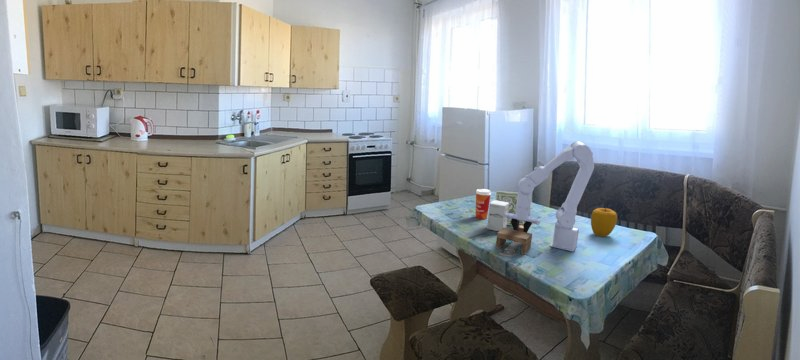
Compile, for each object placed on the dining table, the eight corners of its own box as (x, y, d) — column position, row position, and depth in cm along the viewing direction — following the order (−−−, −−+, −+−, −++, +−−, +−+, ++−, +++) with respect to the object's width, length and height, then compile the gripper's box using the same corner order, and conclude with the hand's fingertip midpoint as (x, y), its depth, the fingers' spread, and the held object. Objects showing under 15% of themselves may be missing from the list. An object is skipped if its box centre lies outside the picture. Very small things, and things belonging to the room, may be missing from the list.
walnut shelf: (530, 248, 186) (532, 233, 185) (524, 254, 179) (526, 239, 178) (502, 241, 192) (503, 227, 191) (495, 247, 185) (497, 232, 184)
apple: (617, 240, 200) (621, 213, 197) (591, 238, 202) (595, 210, 199) (611, 232, 210) (615, 206, 207) (586, 230, 212) (590, 203, 209)
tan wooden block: (526, 239, 196) (527, 226, 194) (512, 252, 181) (514, 238, 179) (519, 238, 197) (520, 225, 196) (505, 250, 182) (506, 236, 181)
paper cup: (470, 216, 226) (472, 189, 223) (483, 214, 229) (485, 188, 226) (479, 220, 219) (481, 193, 216) (492, 219, 222) (494, 192, 219)
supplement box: (486, 229, 207) (488, 203, 204) (491, 225, 214) (493, 199, 211) (502, 232, 204) (505, 205, 201) (506, 228, 210) (509, 202, 207)
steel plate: (515, 254, 180) (515, 251, 180) (511, 258, 176) (511, 255, 176) (503, 251, 183) (503, 248, 183) (498, 255, 179) (499, 252, 178)
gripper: (543, 207, 189) (539, 238, 192) (509, 201, 196) (506, 231, 199) (538, 211, 183) (535, 243, 186) (504, 205, 190) (501, 235, 193)
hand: (520, 237), depth 192 cm, fingers closed on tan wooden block, 3 cm apart
